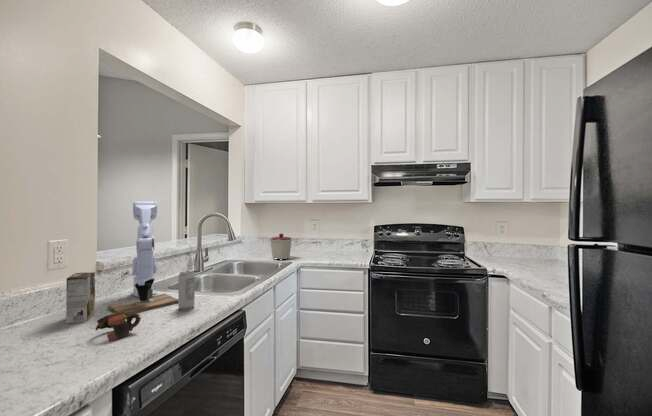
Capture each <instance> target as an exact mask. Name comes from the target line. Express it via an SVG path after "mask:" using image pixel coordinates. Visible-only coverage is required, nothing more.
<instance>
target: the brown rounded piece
mask: <svg viewBox="0 0 652 416" xmlns="http://www.w3.org/2000/svg"><path fill="white" fill-rule="evenodd" d="M133 319H134V322H133V323H132V321H133ZM140 322H141V317H140V314H138V313H133V314H129V315H125V314H124V312H117V313H115V312H113V313H111V314H109V315H108V314H107V315H105V316H103V317H101V318H98V320H97V325H96V327H95V331H98V330H104V329H111V328H112V329H113V331H112V332H110V333H108V334H107V335H106V336H107V339H108V342H112V341H115V340H118V339H120V338H121V339H122V338H125V337H128V336H129V337H130V332H132V331H133V329H134V328H136V327H137V326H139V323H140Z"/></svg>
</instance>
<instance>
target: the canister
mask: <svg viewBox="0 0 652 416" xmlns="http://www.w3.org/2000/svg"><path fill="white" fill-rule="evenodd" d="M269 240H270V247H271V254H272V255H271V256H272V259H273V258H277V259H286V258H290V256H291V251H292V250H291V249H292V240H293V238H291V237H289V236H284V233H279V234H278V236H274V237H273V236H272V237H271V238H270V239H269Z"/></svg>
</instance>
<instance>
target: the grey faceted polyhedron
mask: <svg viewBox="0 0 652 416" xmlns="http://www.w3.org/2000/svg"><path fill="white" fill-rule="evenodd" d="M153 291H154V288H153V289H150V288H149V291H148V296H147V299H150V298H152V296H154V294H153ZM136 299H139V300H140V297H139V293H138V291H137V296H136Z"/></svg>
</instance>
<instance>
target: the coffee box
mask: <svg viewBox="0 0 652 416" xmlns="http://www.w3.org/2000/svg"><path fill="white" fill-rule="evenodd" d="M95 274H96V272H94V271H93V272H92V271H91V272H75V273H73V274H72V275H69V277H67V278H66V283H65V284H66V290H65V291H66V293H65V294H66V296H65V297H66V299H65V300H66V301H65V304H66V307H65V308H66V309H65V311H66V312H65V317H66V318H65V324H67V325H68V324H76V323H83V322H88V321H90V319H91V318H92V317H93V316H94V314H95V313H96V275H95Z"/></svg>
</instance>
